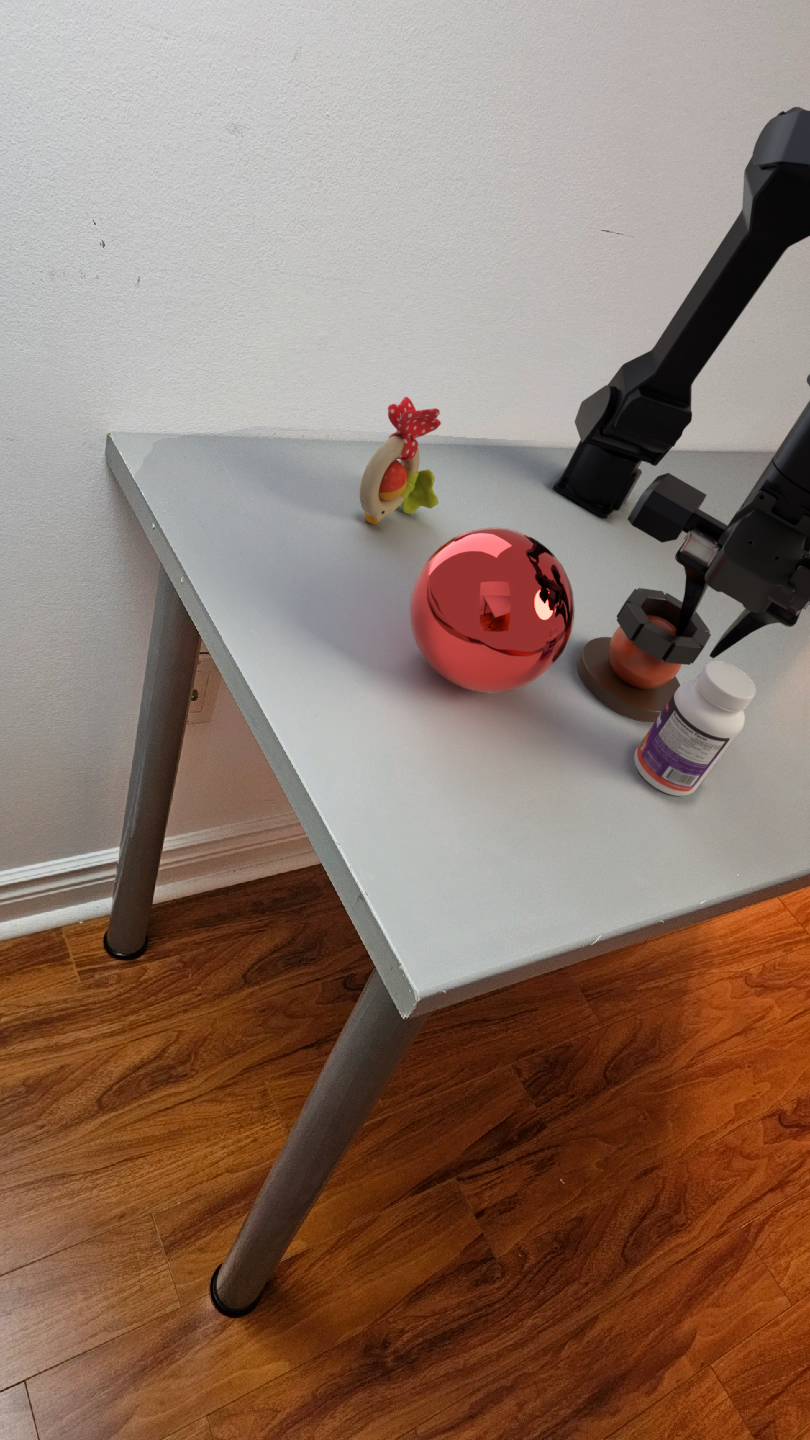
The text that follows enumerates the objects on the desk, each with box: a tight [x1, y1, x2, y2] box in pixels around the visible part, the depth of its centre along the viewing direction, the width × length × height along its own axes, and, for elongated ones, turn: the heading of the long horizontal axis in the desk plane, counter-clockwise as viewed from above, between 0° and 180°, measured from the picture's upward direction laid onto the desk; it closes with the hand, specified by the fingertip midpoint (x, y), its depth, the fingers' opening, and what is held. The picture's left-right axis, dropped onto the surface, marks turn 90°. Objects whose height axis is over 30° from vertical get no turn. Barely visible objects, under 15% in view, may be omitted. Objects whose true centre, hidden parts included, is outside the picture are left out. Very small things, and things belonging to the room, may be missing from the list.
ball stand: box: [576, 615, 683, 723], centre depth 86 cm, size 9×9×6 cm
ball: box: [409, 526, 575, 694], centre depth 77 cm, size 12×12×12 cm
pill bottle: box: [633, 660, 757, 797], centre depth 78 cm, size 5×5×10 cm
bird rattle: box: [359, 396, 442, 525], centre depth 91 cm, size 6×11×9 cm
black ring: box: [616, 587, 712, 666], centre depth 84 cm, size 7×7×2 cm
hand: (695, 645), depth 83 cm, fingers open, 3 cm apart
